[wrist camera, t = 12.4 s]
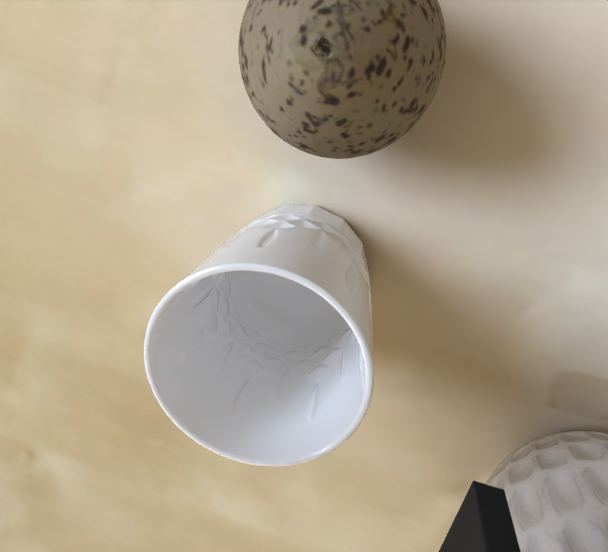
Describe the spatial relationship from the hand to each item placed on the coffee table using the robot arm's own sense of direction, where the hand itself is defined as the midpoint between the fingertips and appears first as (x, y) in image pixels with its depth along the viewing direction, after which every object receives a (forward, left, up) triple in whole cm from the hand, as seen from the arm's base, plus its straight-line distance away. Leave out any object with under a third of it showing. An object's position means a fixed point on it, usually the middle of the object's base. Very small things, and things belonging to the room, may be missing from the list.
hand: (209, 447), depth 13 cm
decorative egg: (-9, -3, -14) cm, 17 cm away
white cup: (0, 0, -14) cm, 14 cm away
